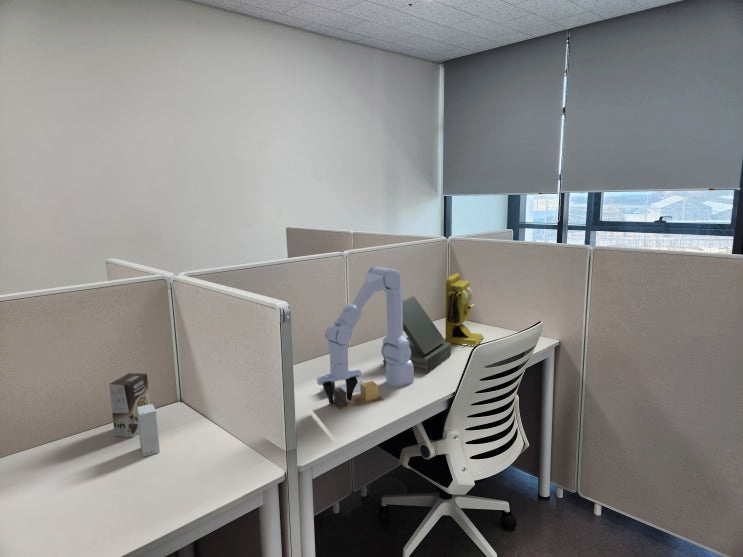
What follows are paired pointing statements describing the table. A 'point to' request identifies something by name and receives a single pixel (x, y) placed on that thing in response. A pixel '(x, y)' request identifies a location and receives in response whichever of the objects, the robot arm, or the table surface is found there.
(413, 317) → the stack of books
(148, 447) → the skincare box
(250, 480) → the table surface
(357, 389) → the grey strip
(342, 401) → the walnut strip
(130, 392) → the coffee box
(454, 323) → the vintage telephone
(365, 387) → the ochre block
